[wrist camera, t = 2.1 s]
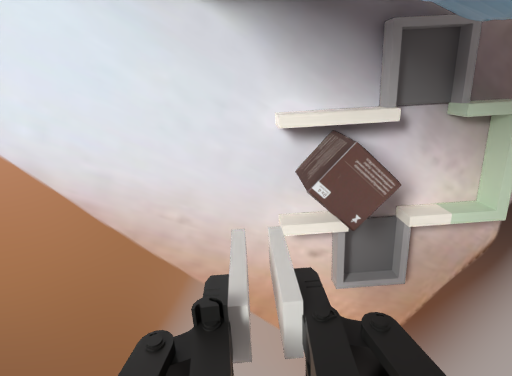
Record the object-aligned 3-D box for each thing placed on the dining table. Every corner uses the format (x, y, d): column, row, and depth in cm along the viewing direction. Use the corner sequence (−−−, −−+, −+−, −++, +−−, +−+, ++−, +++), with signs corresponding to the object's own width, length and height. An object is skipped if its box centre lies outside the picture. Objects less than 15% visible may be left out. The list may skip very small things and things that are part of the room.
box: (371, 165, 34) (404, 185, 27) (331, 204, 36) (353, 233, 29) (332, 128, 33) (357, 139, 26) (292, 170, 34) (306, 192, 27)
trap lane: (272, 27, 30) (275, 21, 27) (521, 14, 30) (550, 7, 27) (281, 282, 38) (284, 298, 35) (473, 267, 39) (492, 282, 36)
